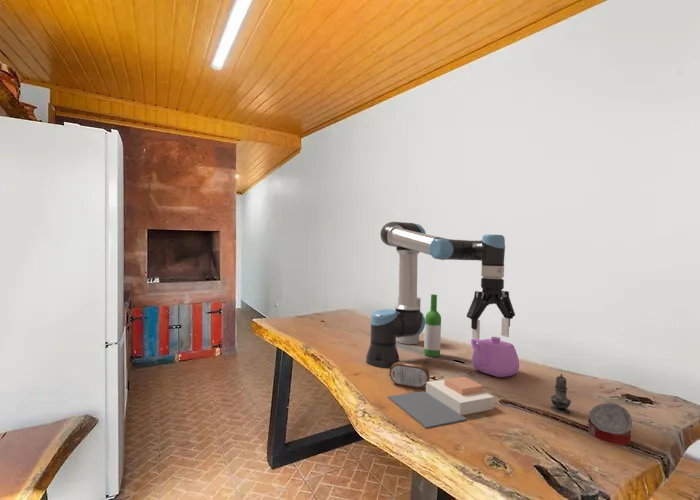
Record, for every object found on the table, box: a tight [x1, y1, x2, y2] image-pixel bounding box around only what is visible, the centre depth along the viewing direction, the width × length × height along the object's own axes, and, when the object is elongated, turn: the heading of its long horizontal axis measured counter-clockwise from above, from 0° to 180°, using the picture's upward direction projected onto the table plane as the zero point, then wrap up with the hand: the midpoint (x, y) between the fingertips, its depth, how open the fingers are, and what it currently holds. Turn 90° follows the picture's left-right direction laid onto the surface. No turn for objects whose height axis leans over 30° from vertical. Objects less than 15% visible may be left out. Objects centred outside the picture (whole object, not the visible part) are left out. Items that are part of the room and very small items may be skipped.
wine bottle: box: [423, 293, 442, 358], centre depth 172 cm, size 8×8×30 cm
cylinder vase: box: [396, 296, 422, 345], centre depth 196 cm, size 12×12×25 cm
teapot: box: [470, 336, 520, 378], centre depth 150 cm, size 23×21×15 cm
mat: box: [387, 390, 468, 429], centre depth 112 cm, size 22×15×1 cm
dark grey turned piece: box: [550, 373, 572, 415], centre depth 115 cm, size 6×6×12 cm
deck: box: [425, 379, 495, 416], centre depth 119 cm, size 18×14×4 cm
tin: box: [389, 361, 431, 389], centre depth 131 cm, size 15×3×8 cm, turn 71°
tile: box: [443, 376, 484, 395], centre depth 120 cm, size 9×9×2 cm
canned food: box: [587, 402, 633, 446], centre depth 99 cm, size 11×10×10 cm
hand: (490, 337), depth 124 cm, fingers open, 13 cm apart
